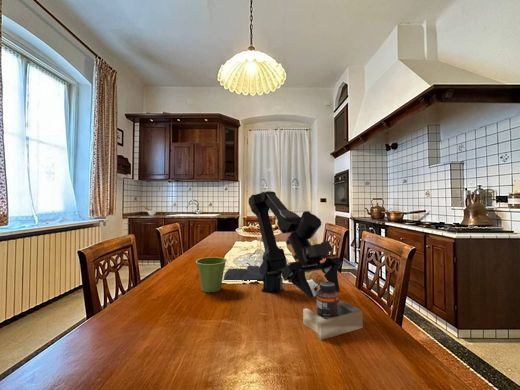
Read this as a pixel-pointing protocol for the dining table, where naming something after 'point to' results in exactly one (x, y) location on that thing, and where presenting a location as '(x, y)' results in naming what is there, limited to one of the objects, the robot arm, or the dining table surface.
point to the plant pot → (211, 273)
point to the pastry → (314, 277)
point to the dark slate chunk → (244, 274)
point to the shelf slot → (334, 321)
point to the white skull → (313, 287)
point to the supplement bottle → (327, 301)
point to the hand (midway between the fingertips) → (325, 294)
